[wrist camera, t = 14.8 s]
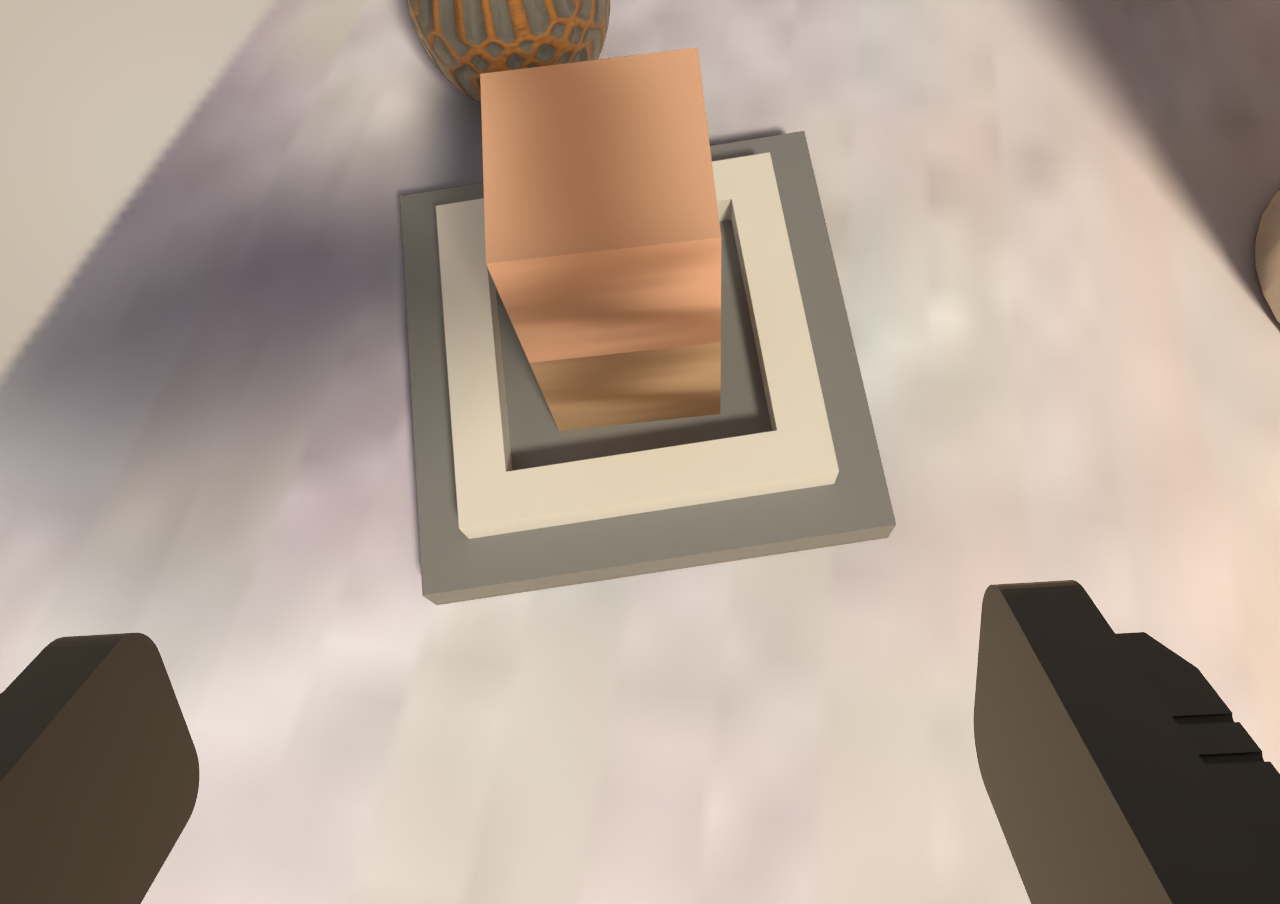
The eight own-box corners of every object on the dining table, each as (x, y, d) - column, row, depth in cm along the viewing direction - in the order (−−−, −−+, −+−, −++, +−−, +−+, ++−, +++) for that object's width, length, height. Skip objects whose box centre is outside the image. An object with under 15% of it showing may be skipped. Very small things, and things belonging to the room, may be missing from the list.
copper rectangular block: (703, 271, 31) (697, 47, 22) (720, 414, 30) (721, 237, 20) (551, 288, 32) (480, 74, 22) (558, 430, 30) (486, 263, 20)
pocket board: (800, 158, 34) (807, 107, 32) (887, 537, 29) (903, 513, 27) (412, 220, 35) (388, 175, 32) (436, 604, 30) (410, 587, 27)
